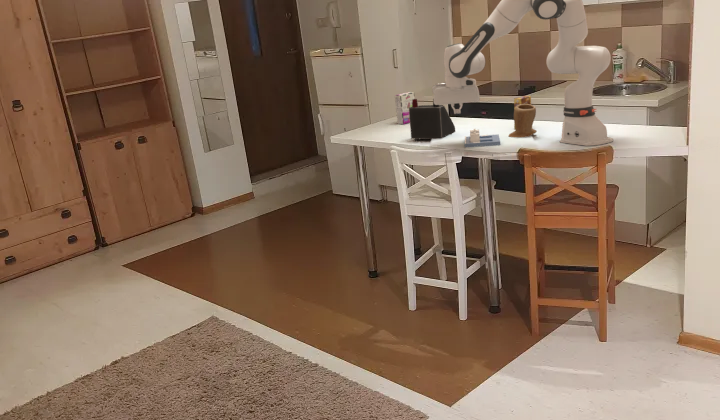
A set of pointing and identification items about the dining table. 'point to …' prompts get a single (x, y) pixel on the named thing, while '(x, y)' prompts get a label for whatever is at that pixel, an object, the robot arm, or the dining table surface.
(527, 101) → the candy box
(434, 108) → the voltmeter
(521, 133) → the brown hollow flared piece
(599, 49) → the robot arm
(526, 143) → the dining table surface
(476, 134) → the tab
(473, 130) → the tab
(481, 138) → the switch bank
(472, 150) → the dining table surface
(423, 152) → the dining table surface
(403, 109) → the candy bar box
